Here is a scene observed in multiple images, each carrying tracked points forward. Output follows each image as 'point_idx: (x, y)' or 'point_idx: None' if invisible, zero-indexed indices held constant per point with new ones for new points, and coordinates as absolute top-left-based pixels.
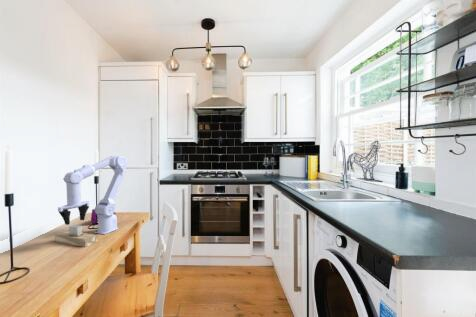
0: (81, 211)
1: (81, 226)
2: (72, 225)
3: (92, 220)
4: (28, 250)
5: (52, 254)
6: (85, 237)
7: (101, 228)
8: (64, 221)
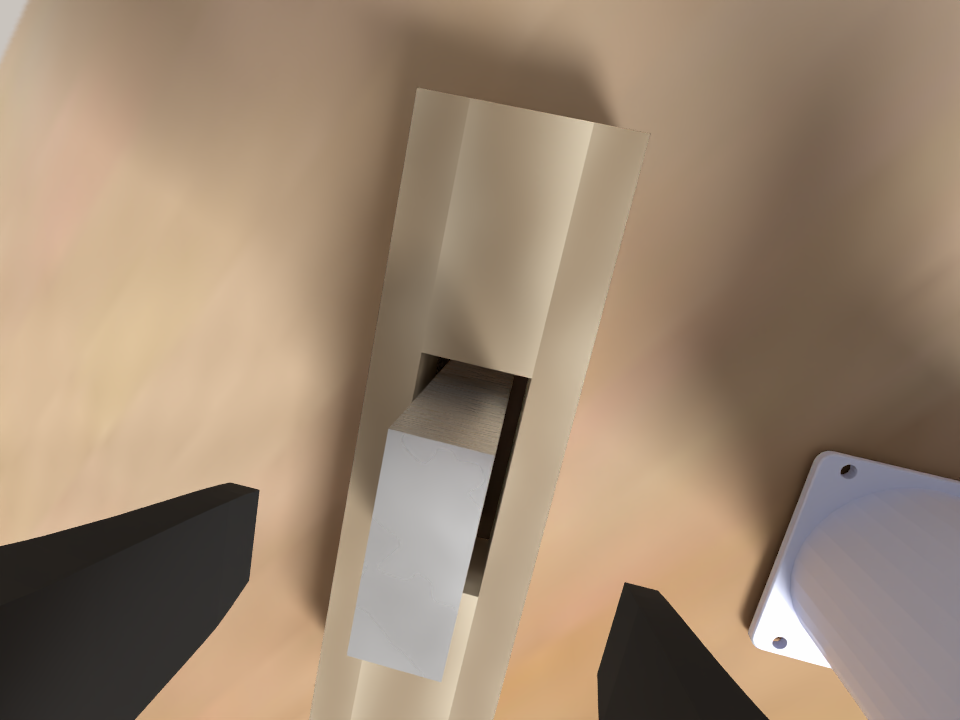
0: None
1: (431, 675)
2: (459, 451)
3: None
4: (135, 51)
5: (128, 463)
6: (374, 686)
7: (825, 633)
8: (160, 510)
